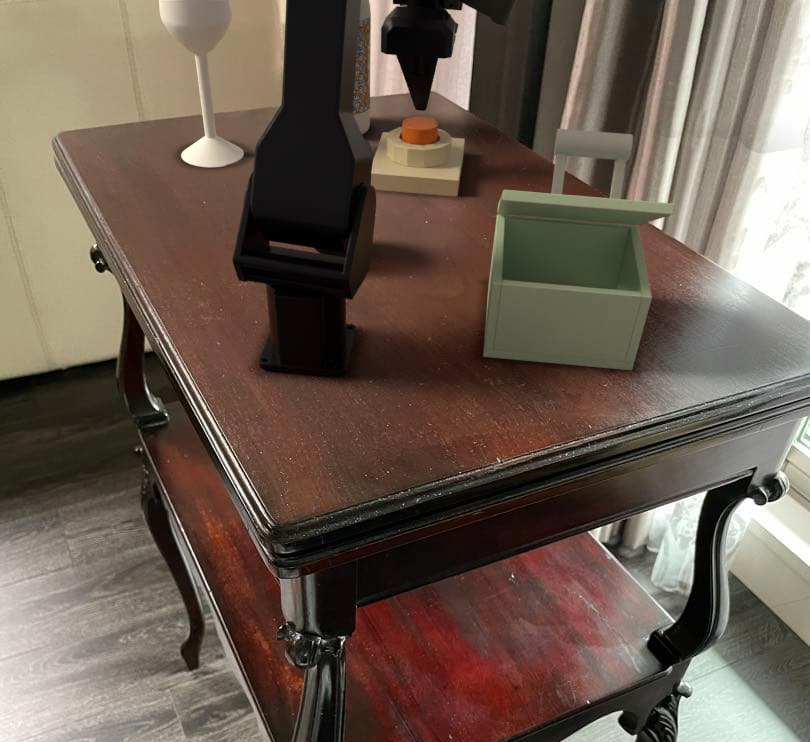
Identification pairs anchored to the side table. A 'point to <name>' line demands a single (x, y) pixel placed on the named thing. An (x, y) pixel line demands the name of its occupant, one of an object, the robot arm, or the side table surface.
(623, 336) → the compartment
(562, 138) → the compartment lid
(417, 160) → the control block
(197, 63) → the champagne flute
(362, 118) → the bath foam
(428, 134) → the button
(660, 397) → the side table surface
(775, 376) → the side table surface
